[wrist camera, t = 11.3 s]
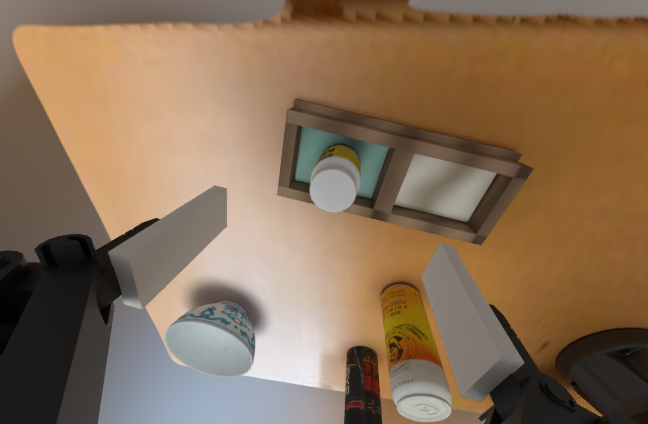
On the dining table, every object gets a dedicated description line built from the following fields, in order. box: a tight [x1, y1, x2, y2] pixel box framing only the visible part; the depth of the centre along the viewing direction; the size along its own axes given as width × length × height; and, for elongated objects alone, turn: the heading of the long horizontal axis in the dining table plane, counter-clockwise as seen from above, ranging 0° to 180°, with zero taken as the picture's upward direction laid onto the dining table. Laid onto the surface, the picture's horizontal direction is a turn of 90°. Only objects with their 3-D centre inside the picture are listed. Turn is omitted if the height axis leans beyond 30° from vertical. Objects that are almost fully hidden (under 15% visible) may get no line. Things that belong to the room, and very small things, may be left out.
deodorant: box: [344, 346, 382, 424], centre depth 39 cm, size 6×6×15 cm
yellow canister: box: [381, 284, 452, 422], centre depth 30 cm, size 6×6×15 cm
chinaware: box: [164, 300, 255, 377], centre depth 41 cm, size 15×15×8 cm
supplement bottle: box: [310, 143, 361, 212], centre depth 23 cm, size 5×5×8 cm
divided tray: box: [277, 99, 533, 245], centre depth 26 cm, size 24×11×4 cm, turn 79°
